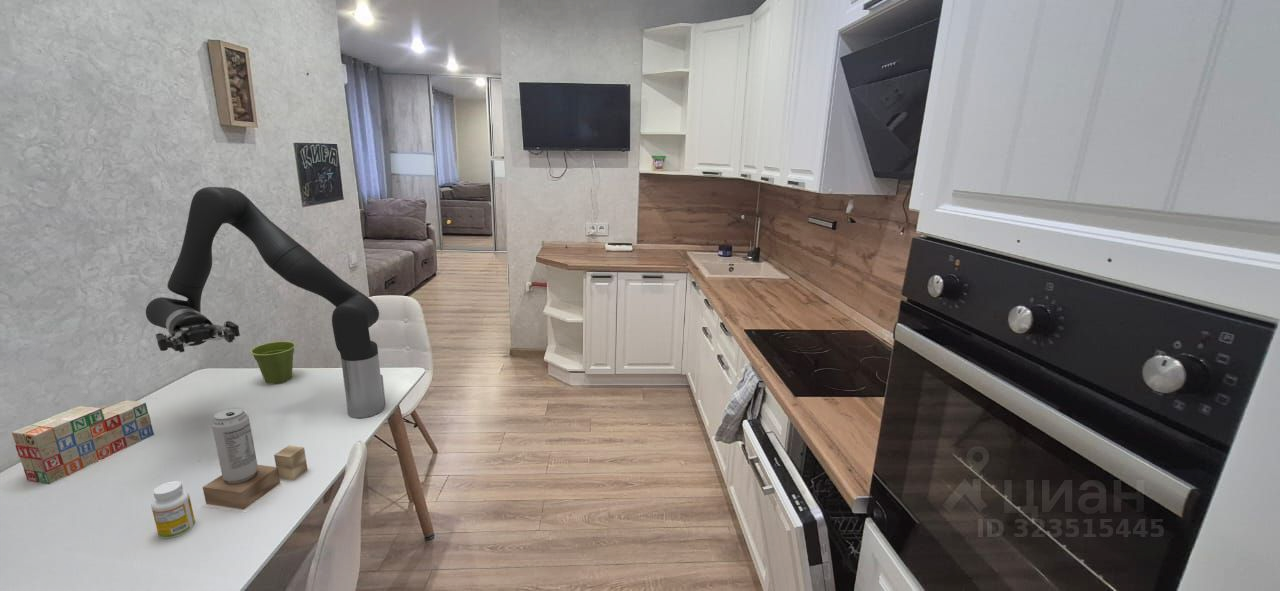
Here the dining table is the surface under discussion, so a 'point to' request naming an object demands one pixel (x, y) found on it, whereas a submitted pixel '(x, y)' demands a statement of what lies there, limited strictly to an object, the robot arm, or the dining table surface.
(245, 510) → the blueprint board
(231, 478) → the energy drink can
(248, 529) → the dining table surface
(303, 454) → the oak post
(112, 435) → the stack of blocks
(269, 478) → the base block
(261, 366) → the plant pot
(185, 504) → the supplement bottle
